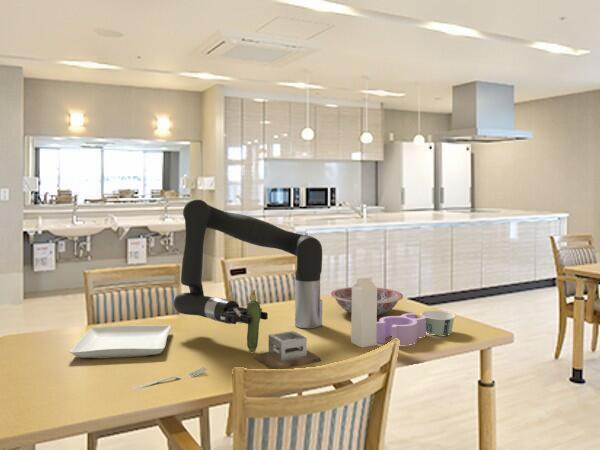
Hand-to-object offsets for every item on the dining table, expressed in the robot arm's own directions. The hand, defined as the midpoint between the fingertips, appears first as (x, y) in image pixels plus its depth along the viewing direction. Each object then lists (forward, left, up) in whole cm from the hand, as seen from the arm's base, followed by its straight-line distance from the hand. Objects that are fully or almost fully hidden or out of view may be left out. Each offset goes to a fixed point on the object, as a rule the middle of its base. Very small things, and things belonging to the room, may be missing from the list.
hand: (259, 318), depth 160 cm
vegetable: (+1, -2, -11) cm, 11 cm away
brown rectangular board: (-5, +9, -11) cm, 15 cm away
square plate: (+35, -27, -12) cm, 46 cm away
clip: (-49, +10, -11) cm, 51 cm away
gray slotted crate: (-5, +9, -11) cm, 15 cm away
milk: (-34, +8, -11) cm, 37 cm away
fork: (+32, +8, -12) cm, 35 cm away
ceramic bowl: (-59, -24, -11) cm, 65 cm away
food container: (-65, +10, -11) cm, 67 cm away
